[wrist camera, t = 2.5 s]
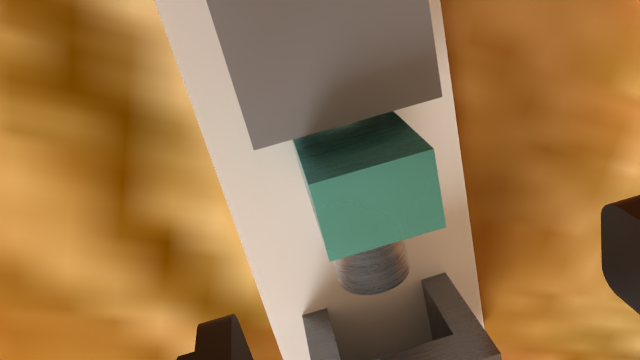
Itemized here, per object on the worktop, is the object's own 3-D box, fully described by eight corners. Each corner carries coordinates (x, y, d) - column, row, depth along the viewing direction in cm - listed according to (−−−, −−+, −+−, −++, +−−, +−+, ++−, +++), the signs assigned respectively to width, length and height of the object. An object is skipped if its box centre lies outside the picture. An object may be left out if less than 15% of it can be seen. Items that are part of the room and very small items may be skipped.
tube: (228, -84, 17) (226, -110, 11) (331, -111, 17) (386, -152, 11) (326, 264, 23) (361, 376, 16) (402, 241, 23) (464, 344, 17)
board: (133, -73, 18) (92, -87, 13) (410, -145, 18) (480, -187, 13) (295, 385, 27) (310, 485, 22) (477, 329, 27) (534, 414, 22)
